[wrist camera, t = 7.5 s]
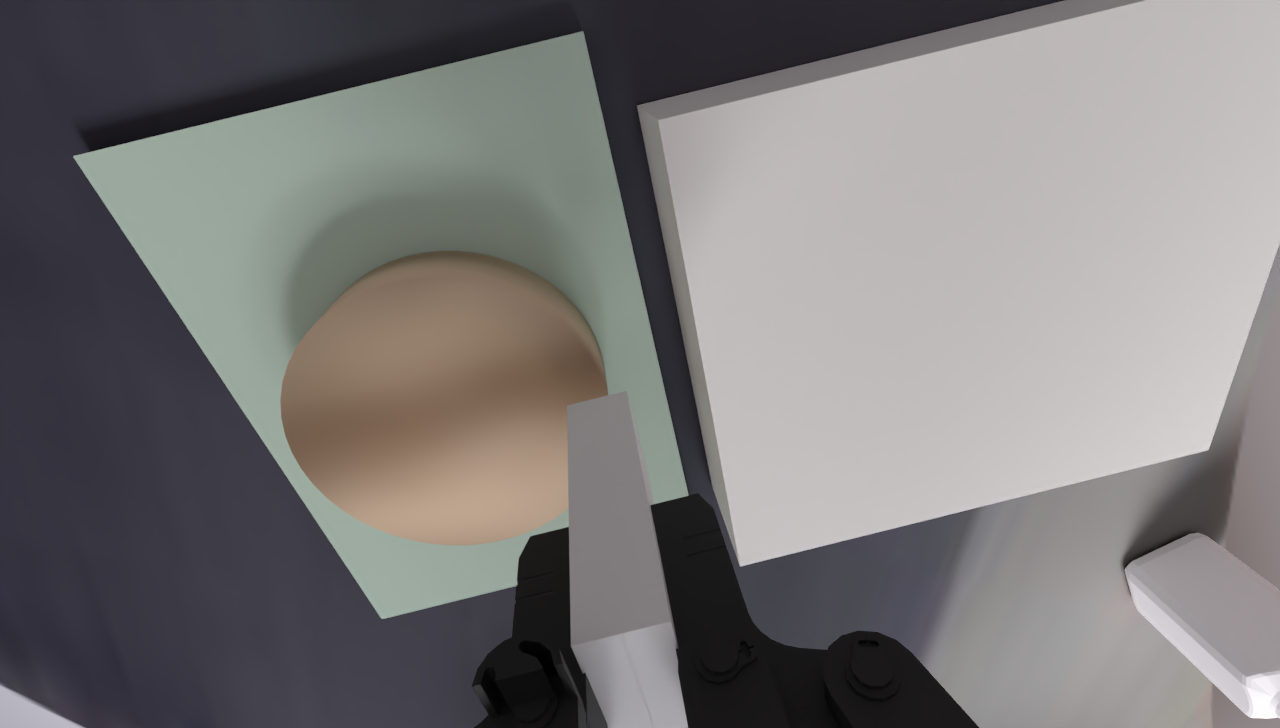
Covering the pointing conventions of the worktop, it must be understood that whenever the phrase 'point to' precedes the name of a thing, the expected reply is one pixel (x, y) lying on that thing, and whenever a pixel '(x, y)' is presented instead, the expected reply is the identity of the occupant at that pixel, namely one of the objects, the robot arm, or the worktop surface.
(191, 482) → the worktop surface
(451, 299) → the tan flat disc
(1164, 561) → the pepper shaker
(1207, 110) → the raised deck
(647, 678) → the robot arm
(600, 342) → the rubber mat
